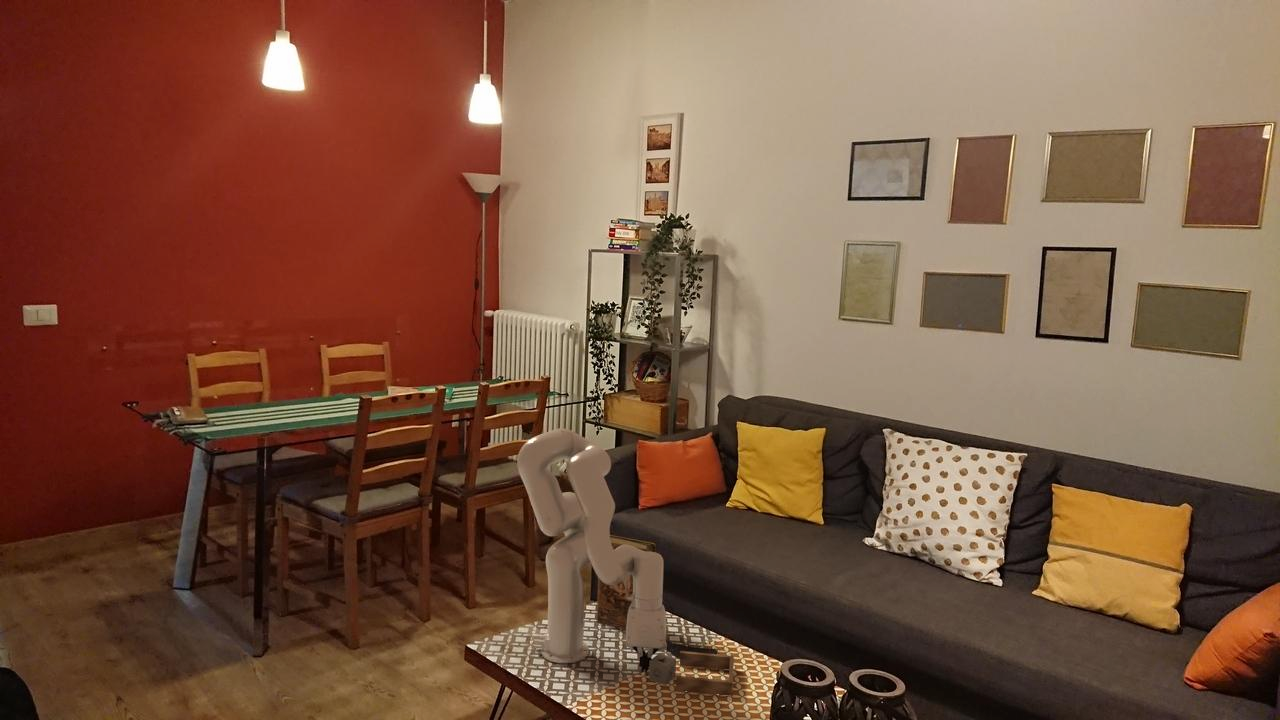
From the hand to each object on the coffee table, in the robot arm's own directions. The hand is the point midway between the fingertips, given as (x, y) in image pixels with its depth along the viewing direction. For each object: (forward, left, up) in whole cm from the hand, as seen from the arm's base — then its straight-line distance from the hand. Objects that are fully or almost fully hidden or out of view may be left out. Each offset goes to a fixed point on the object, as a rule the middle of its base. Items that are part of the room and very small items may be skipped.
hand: (645, 669), depth 213 cm
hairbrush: (+6, +14, -2) cm, 16 cm away
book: (-10, +27, -1) cm, 29 cm away
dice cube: (+5, -1, -1) cm, 5 cm away
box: (+15, 0, -1) cm, 15 cm away
